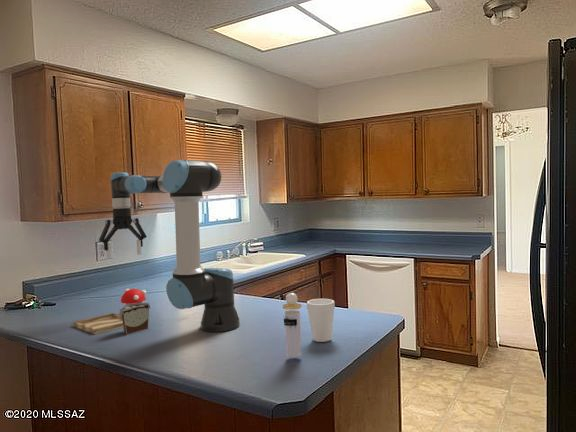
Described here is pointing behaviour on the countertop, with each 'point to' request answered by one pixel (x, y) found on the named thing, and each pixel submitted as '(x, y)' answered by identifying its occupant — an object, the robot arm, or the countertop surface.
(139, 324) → the brown white half-round block
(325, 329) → the foam cup
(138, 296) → the mushroom
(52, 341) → the countertop surface
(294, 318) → the perfume bottle
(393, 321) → the countertop surface
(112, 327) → the tray
